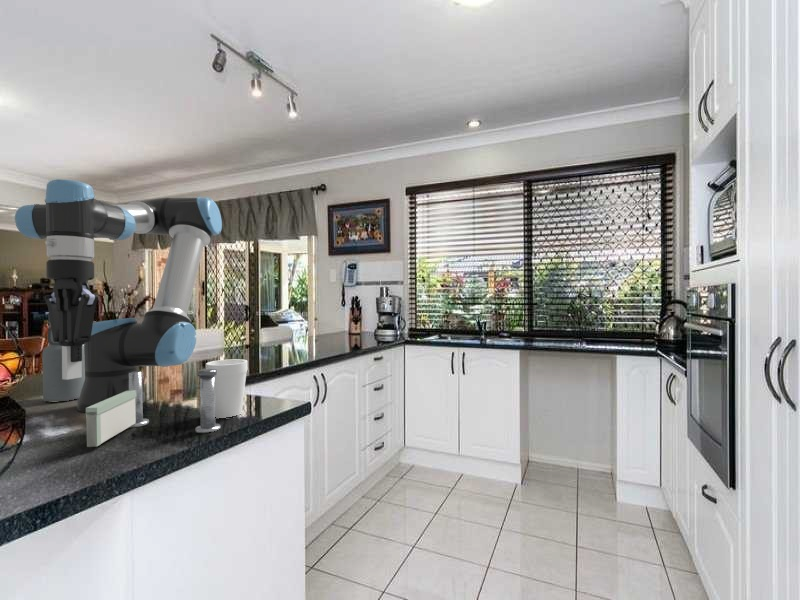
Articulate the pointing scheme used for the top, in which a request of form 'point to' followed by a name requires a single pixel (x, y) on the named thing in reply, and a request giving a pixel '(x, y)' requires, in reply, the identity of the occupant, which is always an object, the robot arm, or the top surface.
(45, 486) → the top surface
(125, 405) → the gate
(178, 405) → the top surface
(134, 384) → the hinge post
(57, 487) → the top surface
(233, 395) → the foam cup
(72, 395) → the water bottle
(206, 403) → the post
